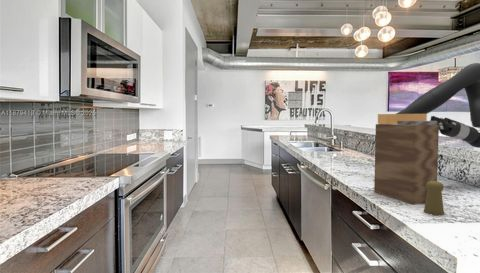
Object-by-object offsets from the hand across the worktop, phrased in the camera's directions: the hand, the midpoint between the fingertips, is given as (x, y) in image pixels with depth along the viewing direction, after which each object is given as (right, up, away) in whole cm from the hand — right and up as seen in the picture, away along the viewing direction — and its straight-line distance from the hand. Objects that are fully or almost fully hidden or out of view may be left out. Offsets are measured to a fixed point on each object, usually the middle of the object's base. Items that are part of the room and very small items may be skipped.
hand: (423, 119), depth 139 cm
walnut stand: (-14, -33, -10) cm, 37 cm away
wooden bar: (-13, -2, -7) cm, 15 cm away
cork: (-15, -34, -31) cm, 49 cm away
